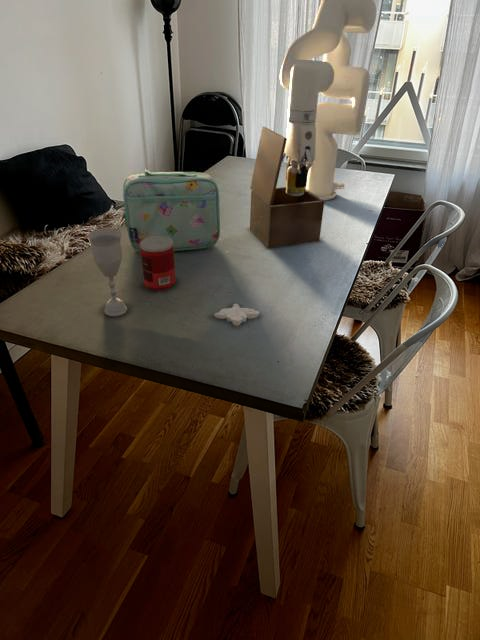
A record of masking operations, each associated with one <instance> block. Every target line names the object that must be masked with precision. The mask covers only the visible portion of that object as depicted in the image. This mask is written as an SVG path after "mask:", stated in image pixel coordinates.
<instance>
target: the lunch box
mask: <svg viewBox="0 0 480 640" xmlns="http://www.w3.org/2000/svg"><path fill="white" fill-rule="evenodd" d="M122 185H123V186H122V187H123V188H122V191H123V192H122V197H123V209H122V211H123V212H124V213H122V216H121V220H120V222H123V220H124V223H125V228H126V231H127V235H128V240H129V243H130V244H131V247H132V248H133V249H134V250H135V251H137V252H139V253H141V252H140V242H141V241H142V240H143V239H145V238H148V237H152V236H165V237H169V238H171V239H172V240H173V245H174V252H180V251H181V252H182V251H192V250H193V251H194V250H201V249H202V250H203V249H206V248H210V247H212V246H214V245H215V244H217V243H218V242H219V239H220V234H221V210H220V192H219V191H220V190H219V186H218V184H217V183H216V182H215V180H214V178H213V177H212V176H211V175H210V174H208V173H205V172H200V171H199V172H197V171H155V172H153V171H152V172H150V171H149V170H148V169H144V171H143V172H140V173H136V174H133V175H130V176H128V177H126V178H125V180H124V182H123V184H122Z"/></svg>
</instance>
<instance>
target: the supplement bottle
mask: <svg viewBox="0 0 480 640" xmlns="http://www.w3.org/2000/svg"><path fill="white" fill-rule="evenodd" d="M302 161H305V159H302ZM302 161H301V162H302ZM290 164H291V166H290V167H289V168H288V170H287V169H286V172H287V181H286V186H285V187H286V193H287V194H288V195H291V196H301V195H303V194H304V189H305V188H306V187H301V188H296V187H295V183H296V173H298V165H297V162H296V161H294V160H293V159H291V162H290ZM303 165H305V164H301V168H302V166H303Z"/></svg>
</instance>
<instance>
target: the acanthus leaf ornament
mask: <svg viewBox="0 0 480 640" xmlns="http://www.w3.org/2000/svg"><path fill="white" fill-rule="evenodd" d="M259 315H260V311H258V310H255V309H254V308H248V307H240V305H239V304H238V303H234V304H232V306H231V307H227V308H222V309H219V311H218V312H215V313H214V314H213V317H214V318H217V319H221V320H224V319H226V321H227V322H231V323H232V325H233V326H235V327H238V326H240V325H241V323H245V322H246V321H247V319H255V318H258V317H259Z"/></svg>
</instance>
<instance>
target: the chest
mask: <svg viewBox="0 0 480 640" xmlns="http://www.w3.org/2000/svg"><path fill="white" fill-rule="evenodd" d="M324 207H325V200H322V199H320V198H319V197H317V196H316V195H315V194H313V193H312V192H310V191H309V190H307V189H306V187H305V189H304V194H303V195H301V196H291V195H288V194H287V193H286V186H282V187H281V186H280V187H276V190H275V195H274V199H273V203H272V205H269V204H267V203H266V202H265V201H264V200H263V199H262V198H260V197H259V196H258V195H257V194H256V193H255V192H253V191H252V190H251V189H250V214H249V215H250V217H249V230H250V231H251V232H252V233H253V234H254V235H255V236H256V237H257V239H258V240H259V241H260V242H261V243H262V244H263V245H264V246H265V247H266V248H267V249H272V248H279V247H287V246H294V245H301V244H308V243H317V242H320V240H321V231H322V223H323V215H324Z"/></svg>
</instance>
